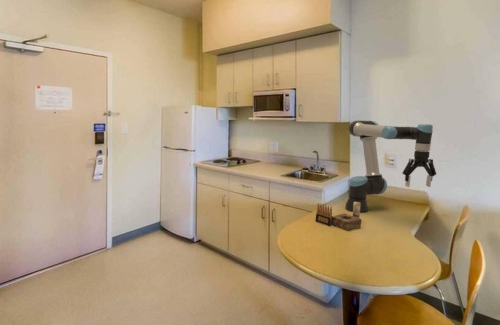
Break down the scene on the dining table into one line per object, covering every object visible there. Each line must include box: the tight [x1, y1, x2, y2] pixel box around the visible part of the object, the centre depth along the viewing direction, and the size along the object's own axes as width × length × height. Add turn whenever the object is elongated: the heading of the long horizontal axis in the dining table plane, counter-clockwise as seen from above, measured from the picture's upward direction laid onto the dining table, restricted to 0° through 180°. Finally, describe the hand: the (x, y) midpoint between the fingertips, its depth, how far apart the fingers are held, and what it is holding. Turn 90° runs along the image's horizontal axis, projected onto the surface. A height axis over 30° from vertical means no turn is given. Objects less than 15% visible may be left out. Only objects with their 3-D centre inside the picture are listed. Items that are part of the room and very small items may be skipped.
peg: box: [352, 202, 361, 219], centre depth 176 cm, size 4×4×12 cm
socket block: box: [332, 213, 362, 232], centre depth 169 cm, size 12×12×5 cm
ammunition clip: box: [315, 202, 333, 227], centre depth 171 cm, size 11×2×12 cm, turn 41°
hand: (417, 186), depth 168 cm, fingers open, 13 cm apart
